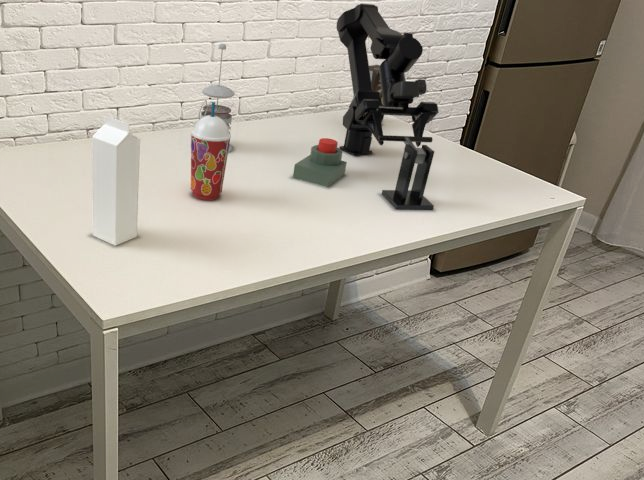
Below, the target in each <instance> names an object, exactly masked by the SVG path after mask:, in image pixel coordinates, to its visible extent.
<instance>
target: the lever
mask: <svg viewBox="0 0 644 480" xmlns="http://www.w3.org/2000/svg"><path fill="white" fill-rule="evenodd" d="M378 141H384V142H403V143H404V146H405V145H406V144H410V145H411V146H412V147H413V148H415V149H416V150H417V151H418V152H417V156H416V160H415V164H416V165H418V164H423V163H424V160H425V157H426V153H425V151H424V150H423V149H422V147H417V146H416V144H414V143H416V142H421V143H432V142H433V137H432V136H422V137H415V136H414V135H413V136H411V135H387V134H386V135H384V134H383V135H379V136H378ZM378 141H377V142H378ZM415 164H414V165H415Z"/></svg>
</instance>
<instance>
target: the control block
mask: <svg viewBox="0 0 644 480" xmlns="http://www.w3.org/2000/svg"><path fill="white" fill-rule="evenodd" d="M318 145H319V144H316V145H313V146H311V148H310V154H309V155H307V156H306V157H303V158H302V159H301V160H299V161H297V162H296V163H295V164H294V168H293V173H292V178H293V179H295V180H298V181H303V182H307V183H310V184H314V185H318V186H321V187H325V188H329V187H330V186H331V185H333V184H334V183H335V182H337V181H338V180H340V179H341V178H342V177H344V176H345V174H346V168H347V161H345V160H342V158H343V150H342V149H340V148H338V147H337V149H336V153H332V154H330V153H323V152H320V151H318Z"/></svg>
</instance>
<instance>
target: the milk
mask: <svg viewBox="0 0 644 480" xmlns="http://www.w3.org/2000/svg"><path fill="white" fill-rule="evenodd" d="M91 143H92V145H91V146H92V147H91V149H92V150H91V155H92V160H91V161H92V163H91V164H92V167H91V168H92V169H91V170H92V171H91V173H92V176H91V177H92V178H91V180H92V181H91V182H92V183H91V184H92V191H91V192H92V193H91V194H92V197H91V198H92V199H91V200H92V208H91V209H92V210H91V211H92V212H91V213H92V216H91V217H92V220H91V221H92V236H93V237H95V238H98V239H99V240H102V241H104V242H106V243H108V244H111V245H112V246H118V245H121V244H123V243H126V242H128V241H131V240H132V239H135V238H137V237H138V222H139V221H138V220H139V219H138V216H139V191H140V190H139V188H140V158H141V138H139V137H138V136H136V135H134V134H132V133H131V132H130V124H129V123H128V122H126V121H122V120H121V119H120V120H119V119H116V118H115V117H111V116H108V115H104V116H103V125H101V126H100V127H99V128H98V130H97V131H96V132H95V133H94V134H93V135H92V138H91Z"/></svg>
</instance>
